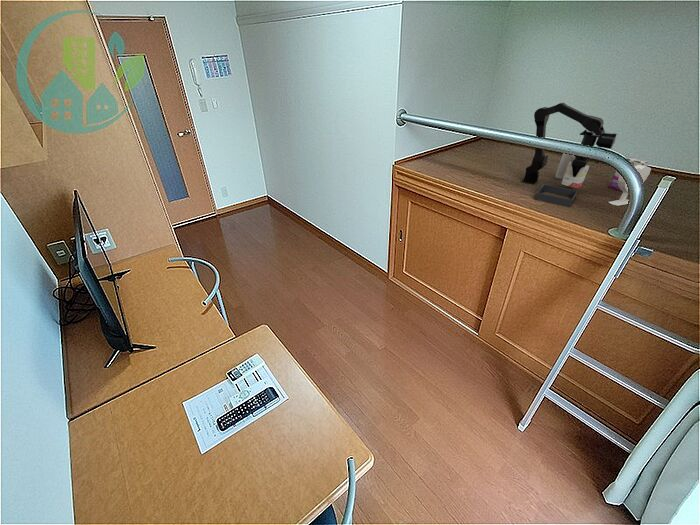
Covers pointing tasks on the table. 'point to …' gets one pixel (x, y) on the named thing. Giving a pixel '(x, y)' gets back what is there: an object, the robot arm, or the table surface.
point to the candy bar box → (616, 176)
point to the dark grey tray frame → (553, 198)
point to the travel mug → (563, 165)
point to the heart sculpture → (622, 184)
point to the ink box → (574, 181)
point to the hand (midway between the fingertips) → (575, 175)
